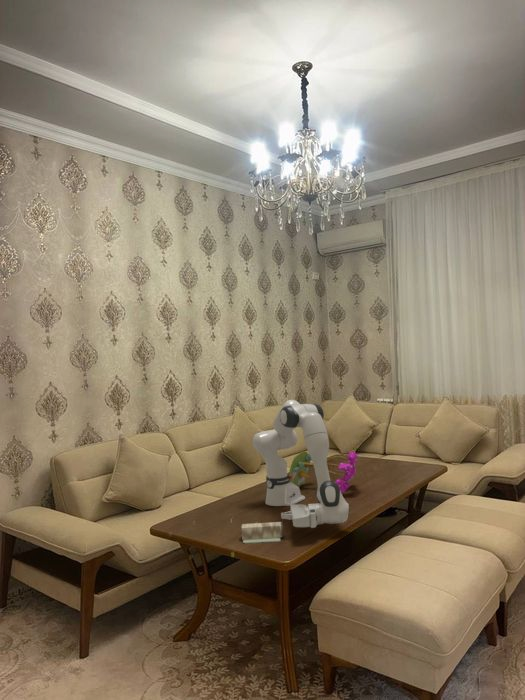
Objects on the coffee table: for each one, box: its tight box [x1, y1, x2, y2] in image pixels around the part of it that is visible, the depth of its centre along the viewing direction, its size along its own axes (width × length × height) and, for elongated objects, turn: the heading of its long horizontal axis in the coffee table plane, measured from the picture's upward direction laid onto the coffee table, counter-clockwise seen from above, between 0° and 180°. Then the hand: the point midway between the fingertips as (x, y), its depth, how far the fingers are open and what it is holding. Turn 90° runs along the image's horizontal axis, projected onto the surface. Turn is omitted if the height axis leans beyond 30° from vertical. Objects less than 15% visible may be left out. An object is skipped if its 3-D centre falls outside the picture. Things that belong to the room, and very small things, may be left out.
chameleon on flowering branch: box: [287, 451, 358, 495], centre depth 296 cm, size 30×28×35 cm
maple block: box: [241, 521, 284, 540], centre depth 230 cm, size 5×5×18 cm
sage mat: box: [242, 537, 281, 544], centre depth 230 cm, size 16×12×1 cm
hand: (281, 515), depth 230 cm, fingers closed
